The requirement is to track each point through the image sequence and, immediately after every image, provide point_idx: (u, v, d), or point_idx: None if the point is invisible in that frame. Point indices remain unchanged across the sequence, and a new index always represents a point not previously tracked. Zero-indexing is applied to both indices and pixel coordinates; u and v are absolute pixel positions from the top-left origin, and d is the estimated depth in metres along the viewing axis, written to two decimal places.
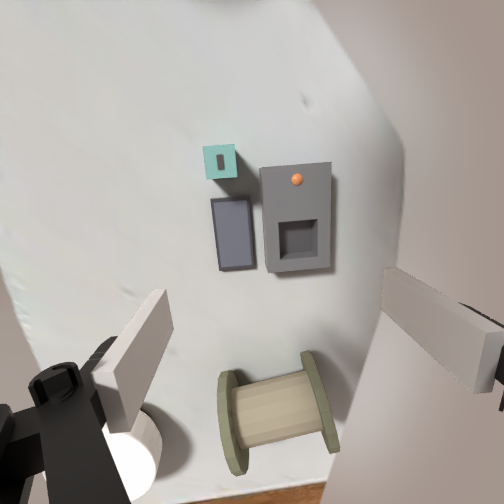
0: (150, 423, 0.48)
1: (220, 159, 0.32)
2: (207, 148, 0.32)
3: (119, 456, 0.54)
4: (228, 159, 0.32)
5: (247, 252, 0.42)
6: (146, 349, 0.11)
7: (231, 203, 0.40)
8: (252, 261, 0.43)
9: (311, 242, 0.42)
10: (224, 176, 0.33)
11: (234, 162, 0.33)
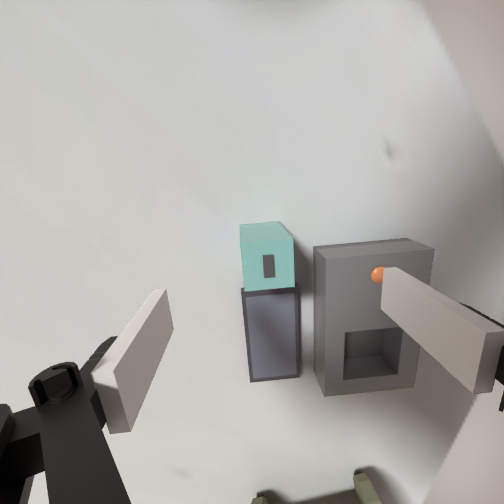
0: None
1: (269, 263, 0.19)
2: (248, 246, 0.19)
3: None
4: (282, 261, 0.20)
5: (291, 359, 0.30)
6: (146, 349, 0.11)
7: (272, 297, 0.27)
8: (297, 370, 0.30)
9: (382, 344, 0.30)
10: (273, 286, 0.20)
11: (291, 265, 0.20)
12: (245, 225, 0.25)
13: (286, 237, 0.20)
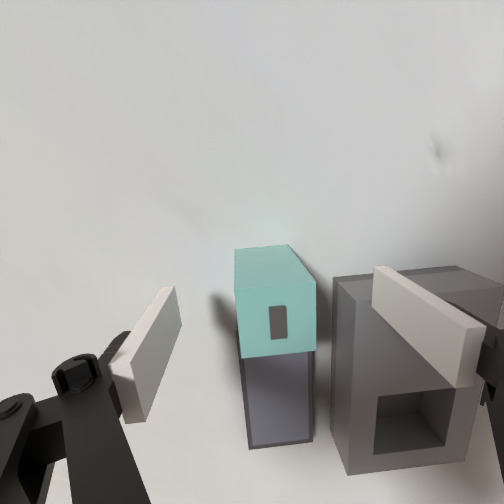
0: None
1: (279, 318, 0.13)
2: (246, 293, 0.12)
3: None
4: (298, 314, 0.13)
5: (302, 421, 0.23)
6: (158, 343, 0.12)
7: None
8: (310, 433, 0.23)
9: (419, 400, 0.23)
10: (285, 350, 0.13)
11: (312, 321, 0.13)
12: (242, 251, 0.18)
13: (304, 278, 0.13)
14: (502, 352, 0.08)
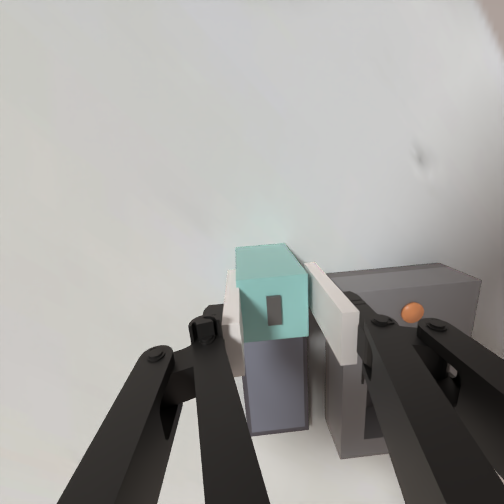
0: None
1: (275, 306, 0.14)
2: (246, 284, 0.14)
3: None
4: (293, 303, 0.15)
5: (298, 409, 0.24)
6: None
7: None
8: (306, 421, 0.25)
9: None
10: (281, 336, 0.15)
11: (304, 309, 0.15)
12: (242, 249, 0.20)
13: (298, 271, 0.15)
14: (372, 337, 0.09)
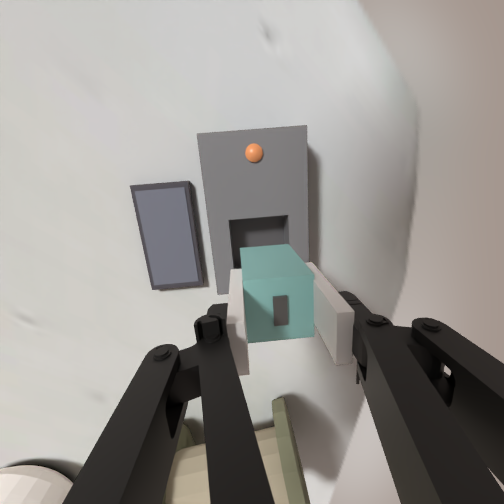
0: None
1: (281, 307, 0.14)
2: (253, 284, 0.14)
3: None
4: (299, 303, 0.15)
5: (191, 263, 0.29)
6: None
7: (162, 191, 0.27)
8: (199, 276, 0.30)
9: None
10: (286, 336, 0.15)
11: (311, 309, 0.15)
12: (247, 249, 0.20)
13: (304, 272, 0.15)
14: (366, 337, 0.09)
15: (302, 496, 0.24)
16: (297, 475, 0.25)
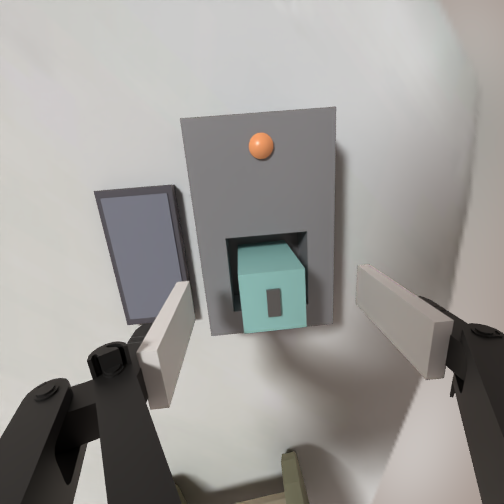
0: None
1: (274, 299, 0.15)
2: (248, 278, 0.15)
3: None
4: (291, 296, 0.16)
5: None
6: (177, 335, 0.12)
7: (137, 199, 0.20)
8: None
9: None
10: (280, 327, 0.16)
11: (302, 301, 0.16)
12: (244, 246, 0.21)
13: (296, 266, 0.16)
14: (468, 346, 0.09)
15: None
16: None
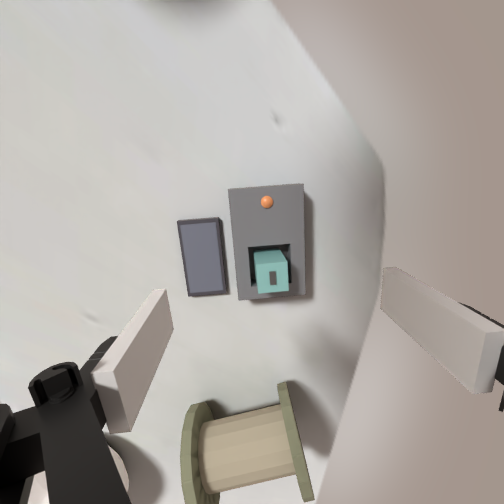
0: (114, 459, 0.44)
1: (273, 276, 0.32)
2: (260, 266, 0.32)
3: None
4: (281, 275, 0.33)
5: (218, 277, 0.40)
6: (146, 349, 0.11)
7: (199, 225, 0.37)
8: (223, 286, 0.40)
9: None
10: (276, 290, 0.33)
11: (286, 277, 0.33)
12: (257, 251, 0.38)
13: (283, 260, 0.33)
14: None
15: (300, 446, 0.34)
16: (296, 432, 0.34)
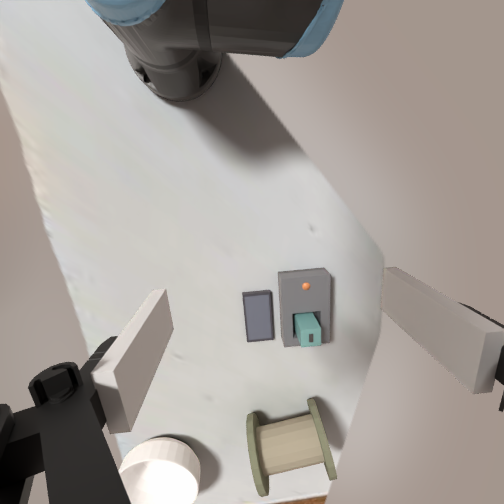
0: (192, 453, 0.62)
1: (311, 337, 0.50)
2: (303, 331, 0.50)
3: (164, 477, 0.68)
4: (316, 335, 0.50)
5: (268, 329, 0.57)
6: (146, 349, 0.11)
7: (257, 297, 0.55)
8: (272, 335, 0.58)
9: None
10: (312, 345, 0.51)
11: (320, 337, 0.50)
12: (296, 313, 0.56)
13: (318, 326, 0.50)
14: None
15: (328, 444, 0.52)
16: (325, 435, 0.53)
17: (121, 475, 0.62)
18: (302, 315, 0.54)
